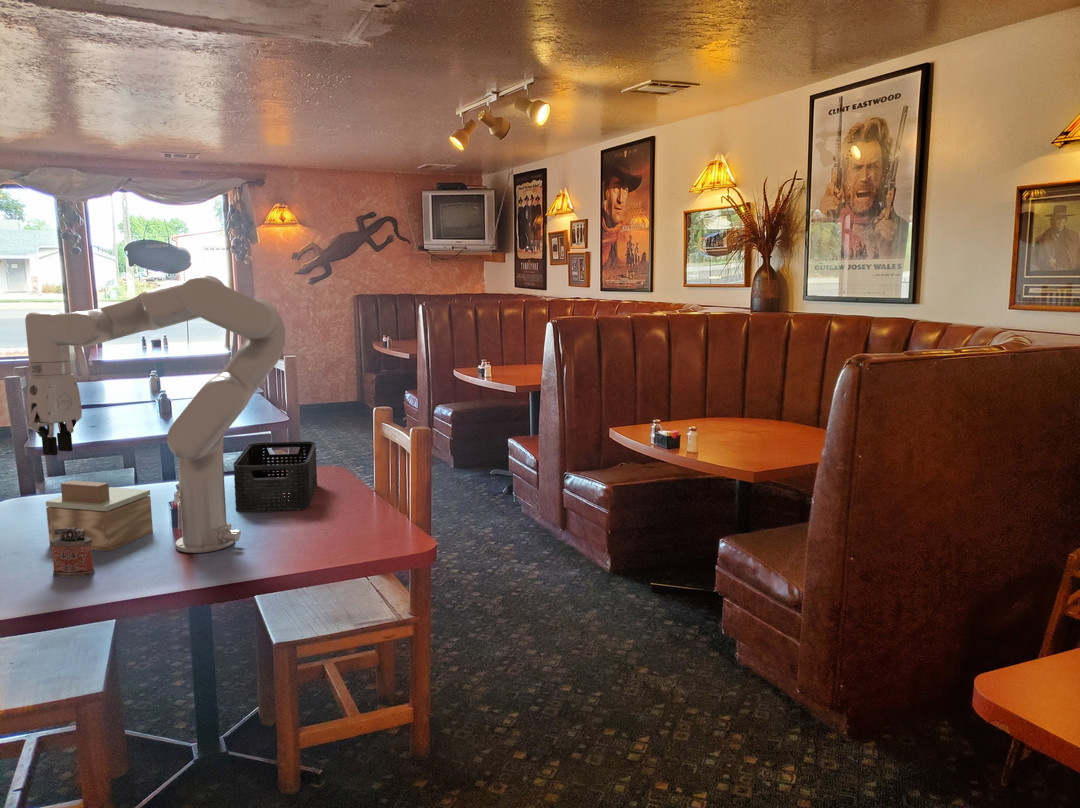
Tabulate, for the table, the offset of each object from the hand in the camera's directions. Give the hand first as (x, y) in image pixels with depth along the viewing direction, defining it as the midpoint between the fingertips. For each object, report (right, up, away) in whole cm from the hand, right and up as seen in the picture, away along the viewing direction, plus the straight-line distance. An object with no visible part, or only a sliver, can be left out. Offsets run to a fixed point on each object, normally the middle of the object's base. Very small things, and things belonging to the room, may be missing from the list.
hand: (58, 452), depth 168 cm
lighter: (+9, -25, -8) cm, 28 cm away
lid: (+2, -12, +12) cm, 17 cm away
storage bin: (+31, -16, +50) cm, 61 cm away
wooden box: (+2, -21, +14) cm, 25 cm away
